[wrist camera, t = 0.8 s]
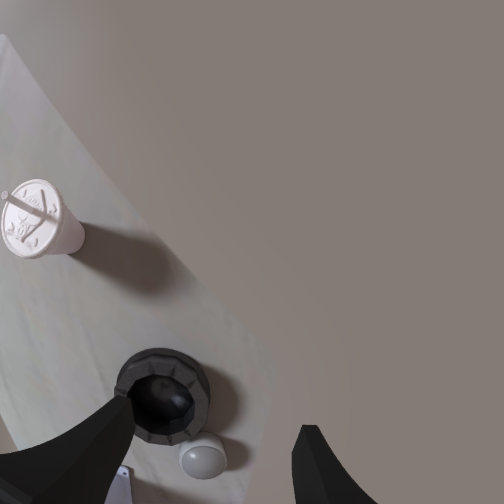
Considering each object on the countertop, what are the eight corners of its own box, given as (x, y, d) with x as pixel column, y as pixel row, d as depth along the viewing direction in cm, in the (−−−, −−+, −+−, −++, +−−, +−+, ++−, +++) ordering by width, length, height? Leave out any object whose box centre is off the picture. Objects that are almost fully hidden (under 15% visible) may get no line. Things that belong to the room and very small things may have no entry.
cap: (221, 465, 28) (225, 481, 24) (178, 462, 27) (179, 479, 23) (224, 432, 29) (229, 446, 25) (179, 429, 28) (179, 444, 24)
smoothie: (106, 221, 28) (53, 174, 15) (81, 276, 27) (12, 268, 14) (61, 199, 27) (-3, 147, 14) (37, 251, 26) (-40, 229, 13)
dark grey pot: (206, 435, 28) (209, 452, 24) (118, 424, 26) (111, 440, 22) (213, 353, 29) (217, 362, 25) (118, 341, 27) (109, 348, 23)
